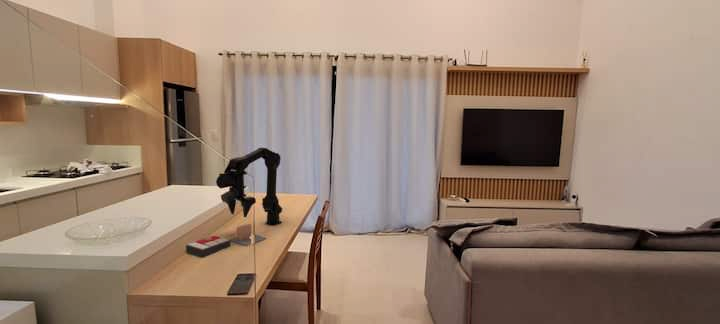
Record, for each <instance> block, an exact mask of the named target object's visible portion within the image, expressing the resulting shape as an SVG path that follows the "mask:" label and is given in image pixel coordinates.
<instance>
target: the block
mask: <svg viewBox="0 0 720 324" xmlns="http://www.w3.org/2000/svg"><path fill="white" fill-rule="evenodd" d="M251 233H252V224H251V223H245V224H243V225H240V226H237V227H236V237H237V239H238V240H242V239H244V238H247V237H250V236H251Z"/></svg>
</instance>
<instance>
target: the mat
mask: <svg viewBox="0 0 720 324" xmlns="http://www.w3.org/2000/svg"><path fill="white" fill-rule="evenodd" d="M254 234H255V233H254ZM266 239H267V237H265V236H262V235H258V234H255V244H257V243H260V242H262V241H265V240H266ZM228 240H229V241H230V242H232V243H235V244H237V245H240V246H245V247H246V246H247V247H249V246H251V245H250V244H251V239H250V238H249V237H247V238H244V239H242V240H238V239H237V236H235V237H232V238H230V239H228ZM248 245H249V246H248Z"/></svg>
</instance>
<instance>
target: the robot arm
mask: <svg viewBox="0 0 720 324" xmlns="http://www.w3.org/2000/svg"><path fill="white" fill-rule="evenodd" d="M259 159H263V160H264V165H265V167H266V170H267V171H266V174H267V175H266V195H265V196H264V197H263V198H262V201H261V202H262V203H261V206H262V208H263V211H264V212H265V213H266V221H265V222H264V223H265V224H267V225H271V226H275V225H278V224H280V223H282V221H281V220H280V214H282V212H283V207H281V205H280V203H279V198H278V196H277V175H278V173H277V172H278V171H277V170H278V167H279V166H280V164H281V155H280V154H279V153H278V152H275V151H272V150H270V149H269V148H267V147H258V148H257V149H256V150H253V151H251V152H250V153H247V154H245V155H244V156H238V157H234V158H230V159H229V161H228V164H227V166H226V168H225V170H224V172H223V173H219V175H218V176H217V178H216V181H215V183H216V186H217V188H219V189H225V188H228V191H226V192H224V193H222V194H221V195H220V199H221V201H222V203H225V204H227V206H228V209H229V211H230V214H231V215H234V214H235V211H236V210H235V209H236V205H237V201H240V207H242V212H243V217H244V218H247V216H248V214H249V212H250V209H251V208H252V206H253V205H255V204H256V200H257V199H256V197H254V196H247V194H246V193H245V189H246V188H247V186H246V185H245V179H244V178H245V176H244V175H247V174H248V172H247V171H245V170H246V169H247V168H248V167H249V165H250V164H252V163H254V162H255V161H258V160H259Z"/></svg>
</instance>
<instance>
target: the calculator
mask: <svg viewBox="0 0 720 324" xmlns="http://www.w3.org/2000/svg"><path fill="white" fill-rule="evenodd" d="M230 247H231V241H229V239H227V238H224V237H220V236H216V235H212V236H209V237H206V238H203V239H200V240H196V241H195V242H191V243H188V244H186V245H185V253H186V254H189V255H193V256H195V257H198V258H205V257H208V256H211V255H212V254H215V253H217V252H220V251H223V250H225V249H227V248H230ZM222 249H223V250H222Z"/></svg>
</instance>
